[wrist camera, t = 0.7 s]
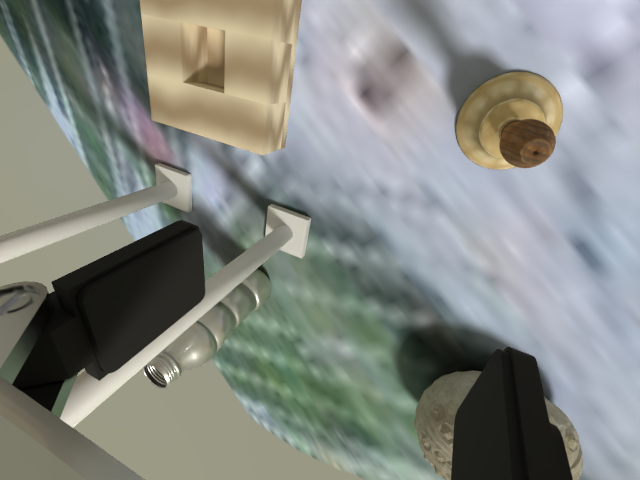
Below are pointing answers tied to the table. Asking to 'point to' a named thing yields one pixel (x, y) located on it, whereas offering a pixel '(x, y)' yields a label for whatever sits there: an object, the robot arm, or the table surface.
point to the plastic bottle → (208, 331)
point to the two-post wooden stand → (281, 234)
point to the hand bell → (510, 121)
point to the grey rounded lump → (440, 415)
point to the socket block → (222, 68)
